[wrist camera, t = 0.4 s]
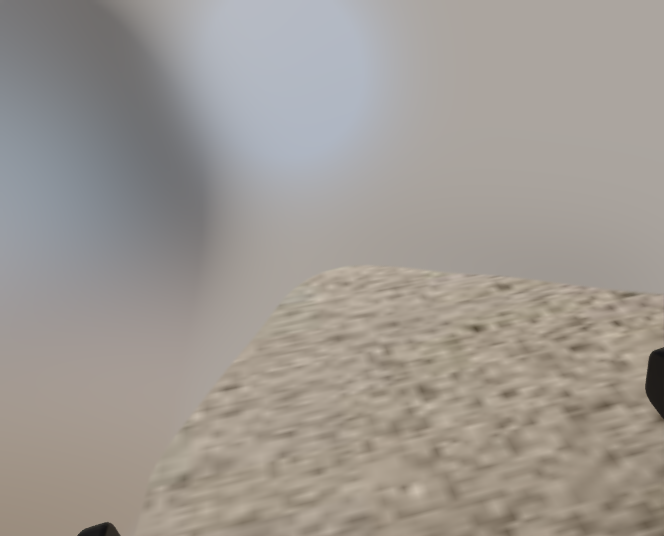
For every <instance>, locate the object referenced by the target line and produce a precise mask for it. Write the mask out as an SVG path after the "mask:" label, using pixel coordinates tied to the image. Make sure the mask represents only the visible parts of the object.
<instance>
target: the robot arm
mask: <svg viewBox="0 0 664 536" xmlns="http://www.w3.org/2000/svg"><path fill="white" fill-rule="evenodd" d="M645 389H646V394H647V396H648V398H649V400H650V402H651V403H652V405H653V406H654V407H655V409H656V410H657V411H658V413H659V414H660V415H661V417H662V418H663V419H664V347H663V348H660V349H657V350H654V351H653V352H652V353H651V354H650V356H649V361H648V369H647V376H646V384H645ZM77 536H120V534H119V533H118V531H117V530H116V528H115V527H114V525H113V524H111V523H109V522H105V523H102V524H98V525H95V526H92V527H89V528H86V529H84V530H82V531H81V532H80V533H79V534H78V535H77Z"/></svg>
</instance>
